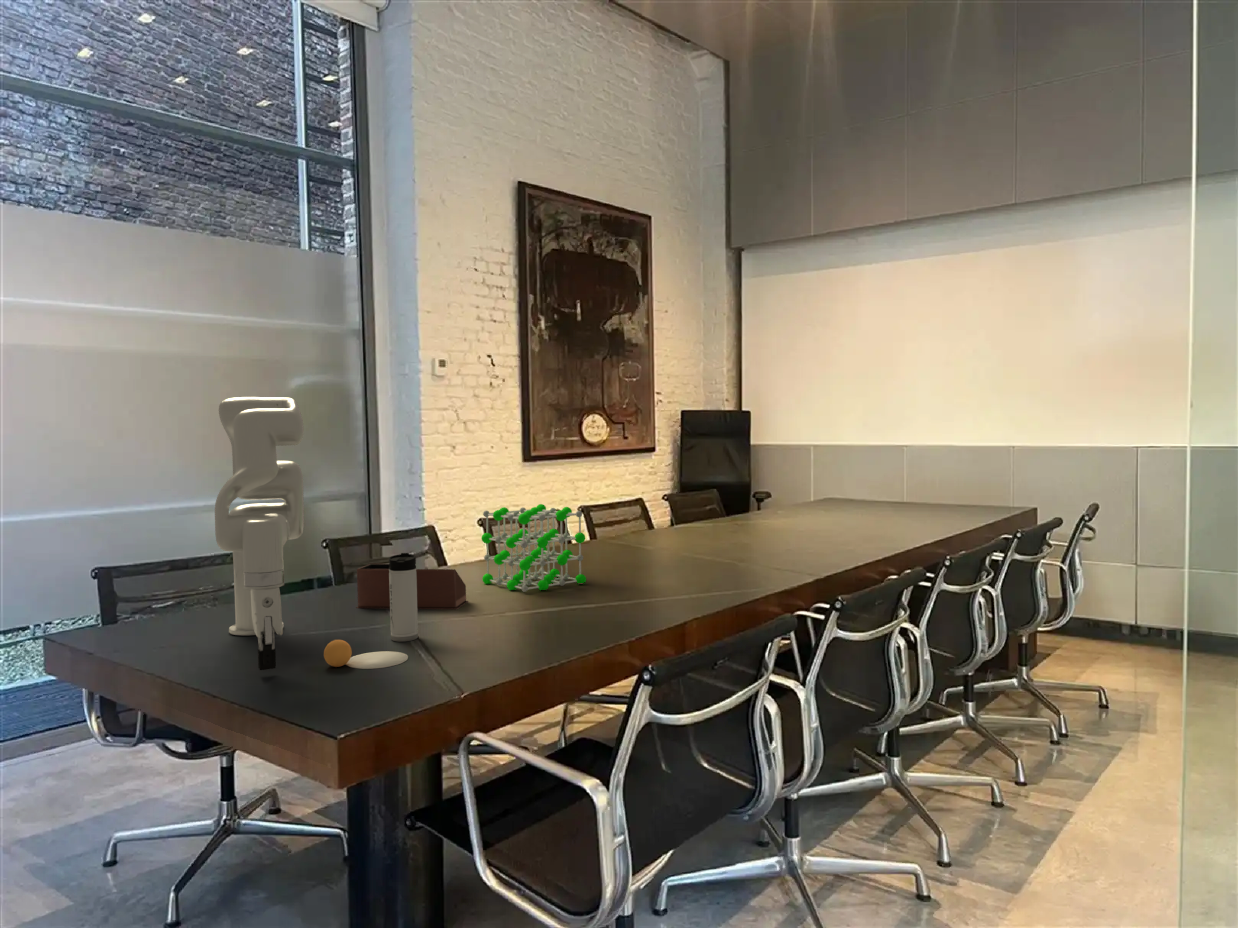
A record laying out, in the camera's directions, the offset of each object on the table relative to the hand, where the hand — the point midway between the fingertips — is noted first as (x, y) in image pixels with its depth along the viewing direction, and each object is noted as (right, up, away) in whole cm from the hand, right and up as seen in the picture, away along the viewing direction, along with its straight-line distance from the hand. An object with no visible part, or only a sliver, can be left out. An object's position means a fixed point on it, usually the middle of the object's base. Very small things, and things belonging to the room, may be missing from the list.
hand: (267, 668), depth 175 cm
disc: (+19, -1, +10) cm, 22 cm away
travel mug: (+21, 0, +29) cm, 36 cm away
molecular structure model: (+45, +3, +96) cm, 106 cm away
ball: (+12, +2, +6) cm, 14 cm away
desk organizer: (+13, +1, +68) cm, 69 cm away
